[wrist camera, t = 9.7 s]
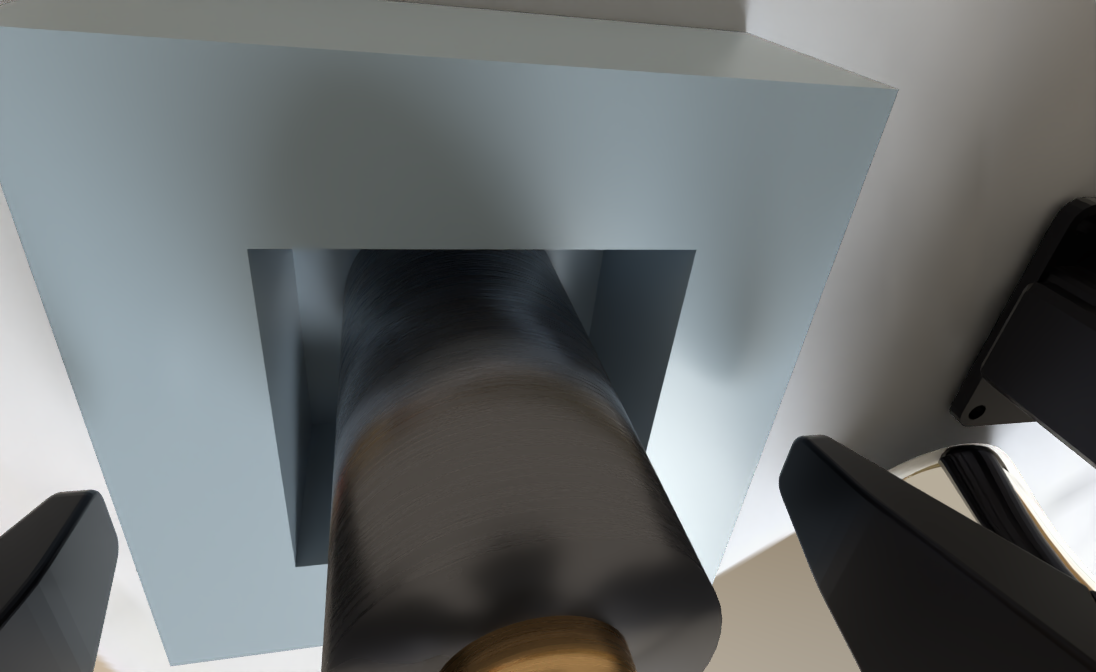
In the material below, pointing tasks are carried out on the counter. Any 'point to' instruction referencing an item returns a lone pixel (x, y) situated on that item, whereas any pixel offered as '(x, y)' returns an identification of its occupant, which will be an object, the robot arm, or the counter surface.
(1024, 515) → the shiny silver cylinder
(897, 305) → the counter surface
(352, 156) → the box
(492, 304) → the cell
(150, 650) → the counter surface
